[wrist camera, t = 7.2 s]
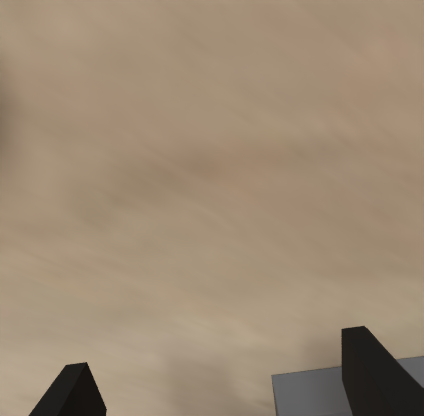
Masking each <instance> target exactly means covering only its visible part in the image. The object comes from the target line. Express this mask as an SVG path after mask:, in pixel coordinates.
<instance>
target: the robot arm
mask: <svg viewBox="0 0 424 416" xmlns="http://www.w3.org/2000/svg"><path fill="white" fill-rule="evenodd" d="M342 382H343V385H344V389H345V392H346V395H347V399H348V402H349V405H350V408H351V411H352V415H353V416H424V388H423V387H422V386H421V385H420V384H419V383H418V382H417V381H416V380H415V379H414V378H413V377H412V376H411V375H410V374H409V373H408V372H407V371H406V370H405V369H404V368H403V367H402V366H401V365H400V364H399V363H398V362H397V361H396V360H395V359H394V357H393V356H392V355H391V354H390V353H389V352H388V351H387V350H386V349H385V348H384V347H383V346H382V344H381V343H380V342H379V341H378V340H377V339H376V338H375V336H374V335H373V334H372V333H371V332H370V331H369V330H368V329H367V328H366V327H365V326H360V327H352V328H345V329H342ZM106 411H107V409H106V406H105V404H104V402H103V399H102V397H101V394H100V392H99V390H98V387H97V385H96V383H95V380H94V378H93V376H92V373H91V371H90V368H89V366H88V364H87V362H85V363H77V364H70V365H66V366H65V367H64V368H63V370H62V371H61V372H60V374H59V375H58V376H57V378H56V379H55V380H54V382H53V383H52V384H51V386H50V387H49V389H48V390H47V391H46V393H45V394H44V395H43V397H42V398H41V400H40V401H39V402H38V404H37V405H36V406H35V408H34V409H33V410H32V412H31V413H30V414H29V416H106Z"/></svg>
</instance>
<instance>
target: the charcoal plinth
mask: <svg viewBox="0 0 424 416" xmlns="http://www.w3.org/2000/svg"><path fill="white" fill-rule="evenodd" d="M396 361H397V362H398V363H399V364H400V365H401V366H402V367H403V368H404V369H405V370H406V371H407V372H408V373H409V374H410V375H411V376H412V377H413V378H414V379H415V380H416V381H417V382H418V383H419V384H420V385H421V386H422V387H423V388H424V356H423V357H415V358H407V359H399V360H396ZM271 376H272V384H273V392H274V400H275V409H276V416H353V415H352V411H351V408H350V405H349V402H348V399H347V395H346V392H345V389H344V385H343V382H342V367H335V368H327V369H319V370H311V371H303V372H295V373H287V374H279V375H271Z"/></svg>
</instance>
